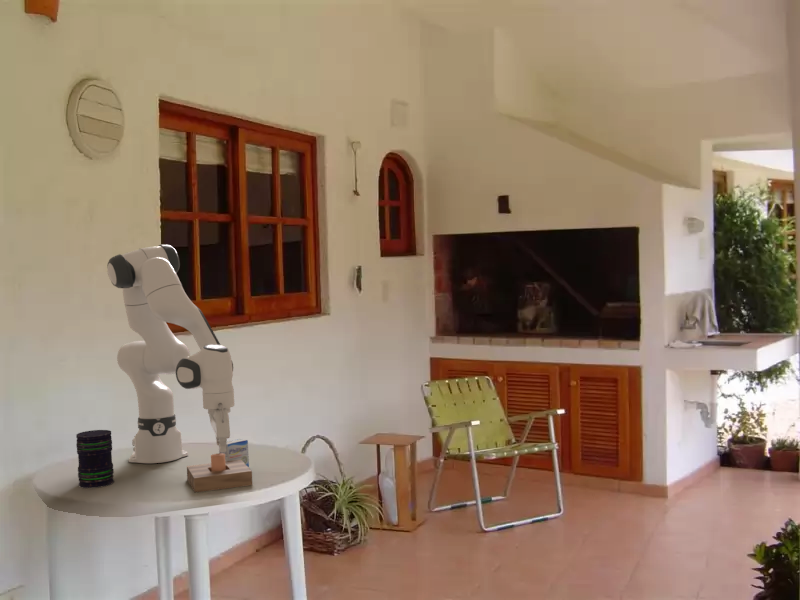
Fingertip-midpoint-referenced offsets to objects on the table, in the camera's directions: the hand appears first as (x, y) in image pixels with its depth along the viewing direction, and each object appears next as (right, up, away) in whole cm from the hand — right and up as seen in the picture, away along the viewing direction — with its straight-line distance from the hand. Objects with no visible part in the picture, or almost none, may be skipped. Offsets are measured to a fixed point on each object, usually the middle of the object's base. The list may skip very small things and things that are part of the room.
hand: (221, 448), depth 244 cm
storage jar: (-37, -11, +3) cm, 39 cm away
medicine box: (+1, -9, +15) cm, 18 cm away
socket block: (0, -10, -1) cm, 10 cm away
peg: (0, -10, -1) cm, 10 cm away
